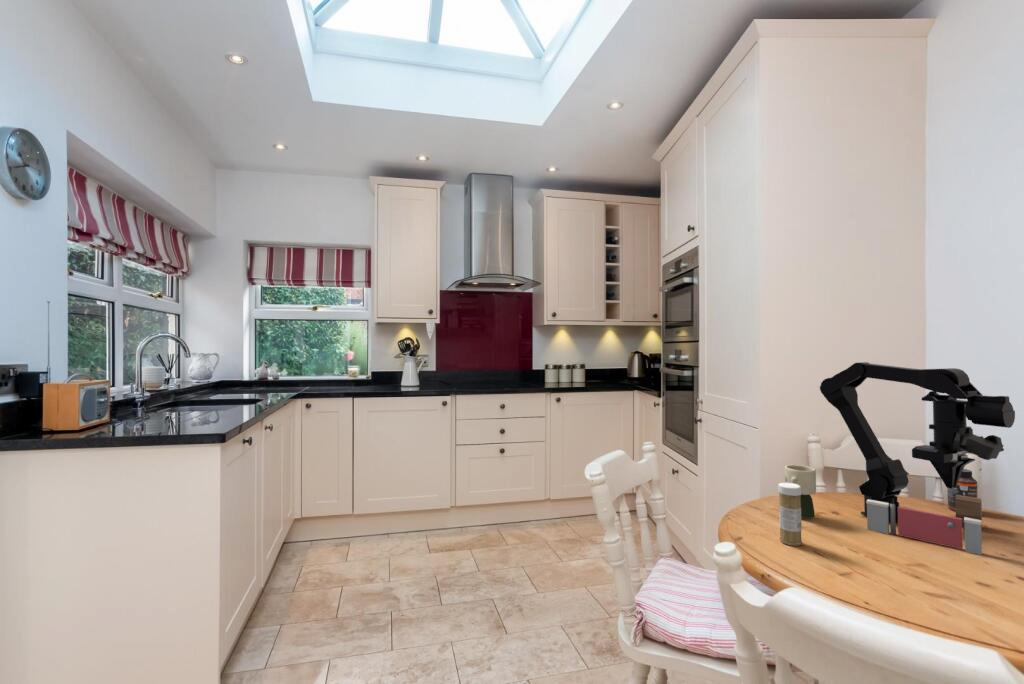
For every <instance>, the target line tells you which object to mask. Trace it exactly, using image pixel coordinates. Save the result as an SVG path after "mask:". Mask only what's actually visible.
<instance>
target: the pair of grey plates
mask: <svg viewBox="0 0 1024 684" xmlns="http://www.w3.org/2000/svg"><path fill="white" fill-rule="evenodd" d="M866 503H867V517H866V520H867V521H866V522H867V525H866V526H867V530H869V531H872V532H877V533H882V534H885V535H889V533H890V535H892V536H897V522H896V514H895V504H890V522H889V503H886V502H881V501H875V500H870V499H867V501H866ZM964 522H965V528H964V548H965V549H964V550H965V553H966V552H967V553H970V554H974V555H979V556H982V553H983V547H982V544H983V543H982V531H981V524H982V525H983V519H982V520H978V519H972V518H967V517H964Z"/></svg>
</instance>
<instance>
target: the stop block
mask: <svg viewBox="0 0 1024 684" xmlns="http://www.w3.org/2000/svg"><path fill="white" fill-rule="evenodd" d="M982 506H983V505H982V498H979V497H977V498H974V497H968V496H961V495H956V498H955V509H956V511H955V517H956V518H962V529H965V522H964V517H967V518H972V519H978V520H982V521H983V511H982V509H983V508H982ZM982 530H983V523H982V524H981V532H982Z"/></svg>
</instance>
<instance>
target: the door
mask: <svg viewBox="0 0 1024 684" xmlns="http://www.w3.org/2000/svg"><path fill="white" fill-rule="evenodd" d="M897 529H898V530H897V532H898V533H897V535H898V536H902V537H906V538H911V539H915V540H920V541H925V542H929V543H933V544H937V545H938V544H939V545H941V546H942V545H943V546H947V547H950V548H951V547H952V548H955V549H960V550H963V546H964V545H963V528H962V518H956V516H951V515H947V514H946V515H945V514H940V513H934V512H929V511H924V510H918V509H914V508H907V507H902V506H899V507H898V522H897Z"/></svg>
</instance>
